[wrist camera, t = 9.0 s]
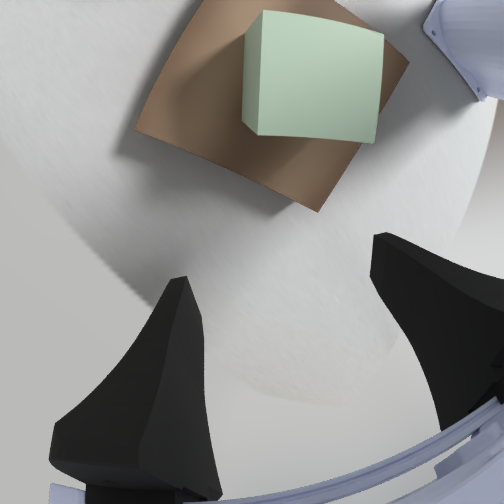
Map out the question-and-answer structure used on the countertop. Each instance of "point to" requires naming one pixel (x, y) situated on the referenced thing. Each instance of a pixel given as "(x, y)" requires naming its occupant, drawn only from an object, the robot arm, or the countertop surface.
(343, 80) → the sage cube
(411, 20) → the countertop surface
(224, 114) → the walnut block
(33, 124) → the countertop surface
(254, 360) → the countertop surface
